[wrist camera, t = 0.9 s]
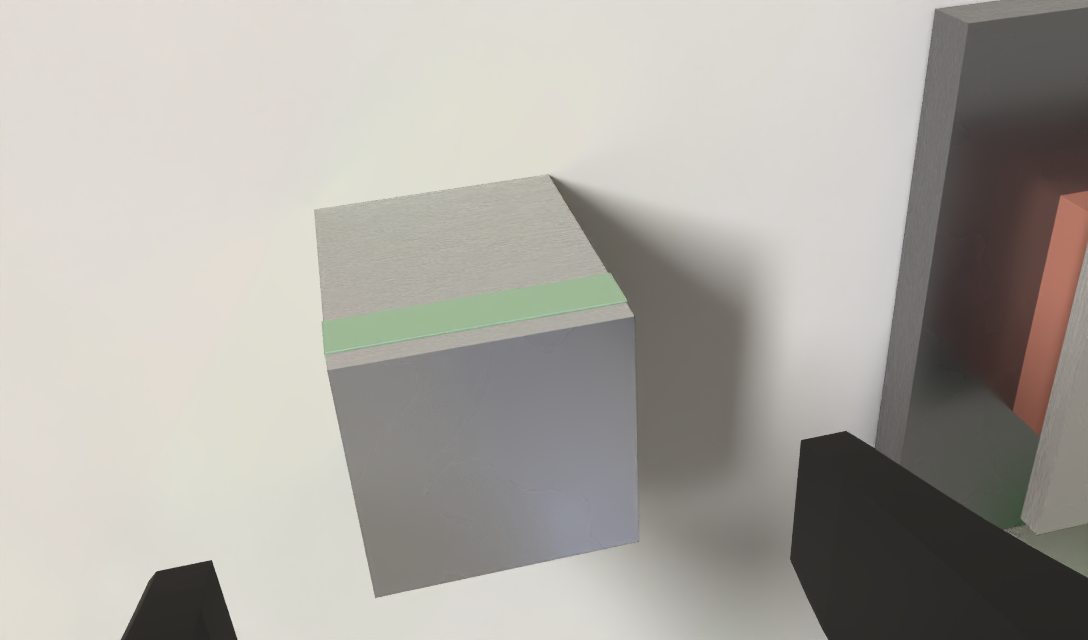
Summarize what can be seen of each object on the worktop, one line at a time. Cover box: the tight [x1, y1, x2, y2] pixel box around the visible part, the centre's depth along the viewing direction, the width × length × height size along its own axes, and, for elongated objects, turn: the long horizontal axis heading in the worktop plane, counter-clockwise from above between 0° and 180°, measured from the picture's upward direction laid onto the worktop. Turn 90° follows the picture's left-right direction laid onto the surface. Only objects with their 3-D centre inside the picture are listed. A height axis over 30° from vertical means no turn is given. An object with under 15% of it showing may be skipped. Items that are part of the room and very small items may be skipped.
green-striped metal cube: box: [314, 175, 639, 598], centre depth 16 cm, size 4×4×5 cm
